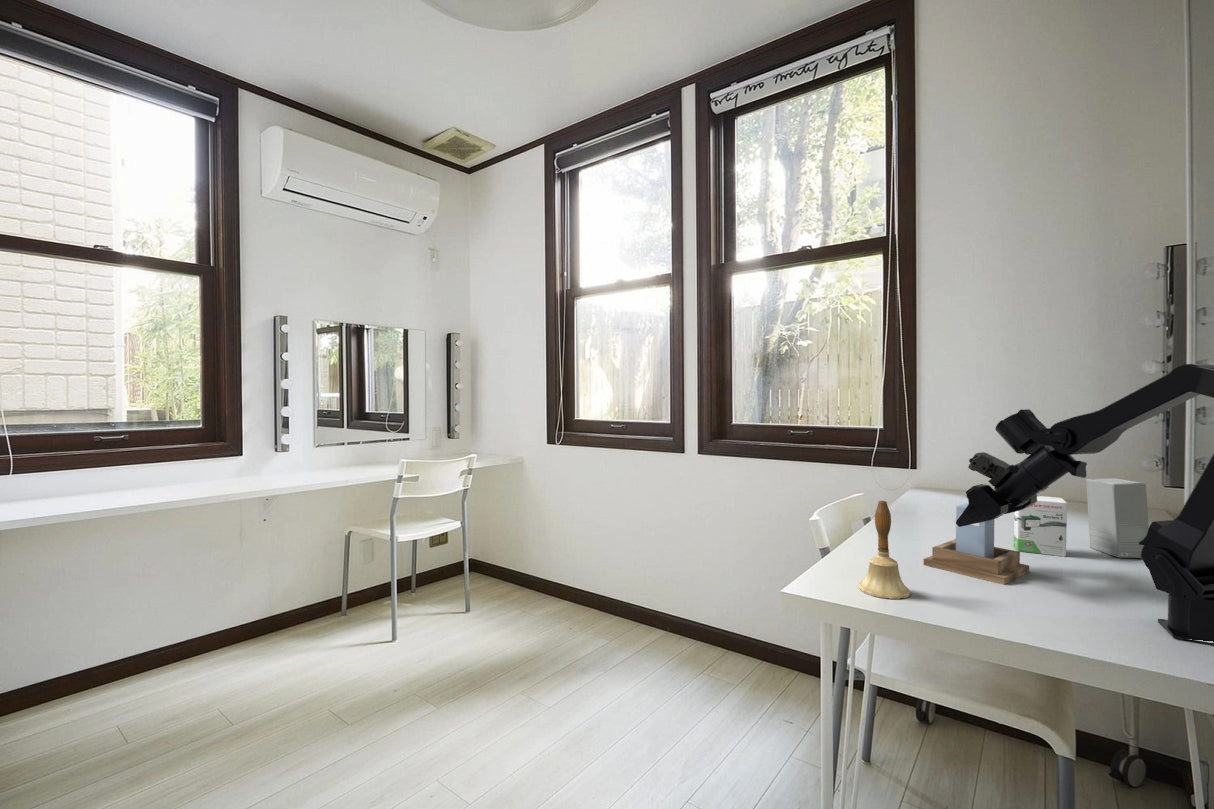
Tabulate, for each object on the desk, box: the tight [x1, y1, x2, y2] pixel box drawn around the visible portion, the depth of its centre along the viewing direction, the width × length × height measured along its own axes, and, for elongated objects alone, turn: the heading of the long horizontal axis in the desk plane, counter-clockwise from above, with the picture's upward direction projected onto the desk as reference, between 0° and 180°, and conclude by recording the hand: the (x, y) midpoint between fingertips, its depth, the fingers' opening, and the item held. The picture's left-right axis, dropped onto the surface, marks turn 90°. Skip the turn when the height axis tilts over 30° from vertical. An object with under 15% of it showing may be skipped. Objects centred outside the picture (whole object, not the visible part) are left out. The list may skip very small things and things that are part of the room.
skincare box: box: [1085, 477, 1150, 559], centre depth 117 cm, size 8×7×16 cm
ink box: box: [1012, 495, 1068, 558], centre depth 119 cm, size 9×5×12 cm, turn 60°
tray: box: [923, 538, 1030, 585], centre depth 108 cm, size 12×14×4 cm
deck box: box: [955, 503, 995, 559], centre depth 108 cm, size 5×5×11 cm
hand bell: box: [857, 500, 911, 600], centre depth 97 cm, size 8×8×16 cm
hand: (967, 521), depth 109 cm, fingers open, 9 cm apart
